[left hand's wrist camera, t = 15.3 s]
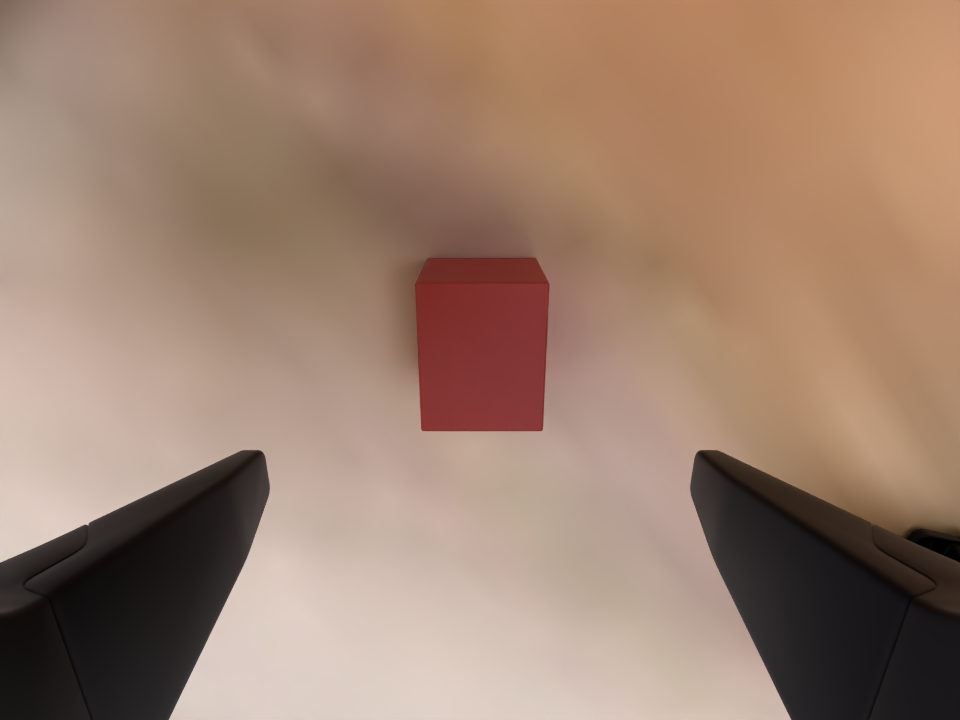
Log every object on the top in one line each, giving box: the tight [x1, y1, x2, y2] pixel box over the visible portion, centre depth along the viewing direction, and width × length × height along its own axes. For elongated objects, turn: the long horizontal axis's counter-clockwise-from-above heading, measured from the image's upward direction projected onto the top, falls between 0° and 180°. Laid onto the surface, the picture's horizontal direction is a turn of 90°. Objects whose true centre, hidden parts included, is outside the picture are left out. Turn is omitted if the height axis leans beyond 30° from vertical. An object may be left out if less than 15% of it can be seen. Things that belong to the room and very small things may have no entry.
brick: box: [415, 258, 549, 431], centre depth 19 cm, size 5×4×4 cm
